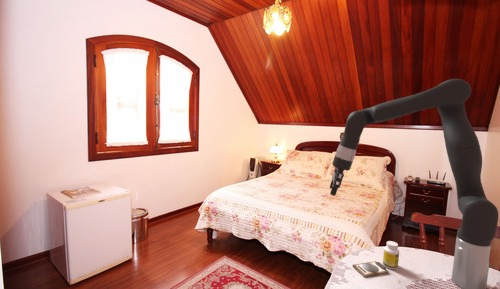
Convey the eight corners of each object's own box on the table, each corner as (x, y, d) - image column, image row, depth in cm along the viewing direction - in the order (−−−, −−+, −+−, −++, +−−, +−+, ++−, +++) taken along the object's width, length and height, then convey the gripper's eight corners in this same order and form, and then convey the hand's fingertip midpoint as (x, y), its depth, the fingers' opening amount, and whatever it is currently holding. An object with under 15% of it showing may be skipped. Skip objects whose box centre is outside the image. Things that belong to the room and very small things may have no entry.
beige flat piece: (375, 263, 105) (376, 259, 104) (388, 273, 98) (389, 269, 98) (352, 266, 102) (352, 263, 102) (364, 277, 95) (364, 273, 95)
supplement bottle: (396, 271, 99) (398, 248, 98) (381, 266, 102) (383, 243, 101) (398, 265, 103) (400, 242, 102) (383, 260, 107) (385, 238, 105)
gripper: (355, 163, 99) (341, 200, 102) (351, 156, 112) (339, 189, 116) (336, 158, 100) (323, 194, 104) (334, 151, 114) (323, 183, 117)
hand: (332, 191), depth 110 cm, fingers open, 8 cm apart
